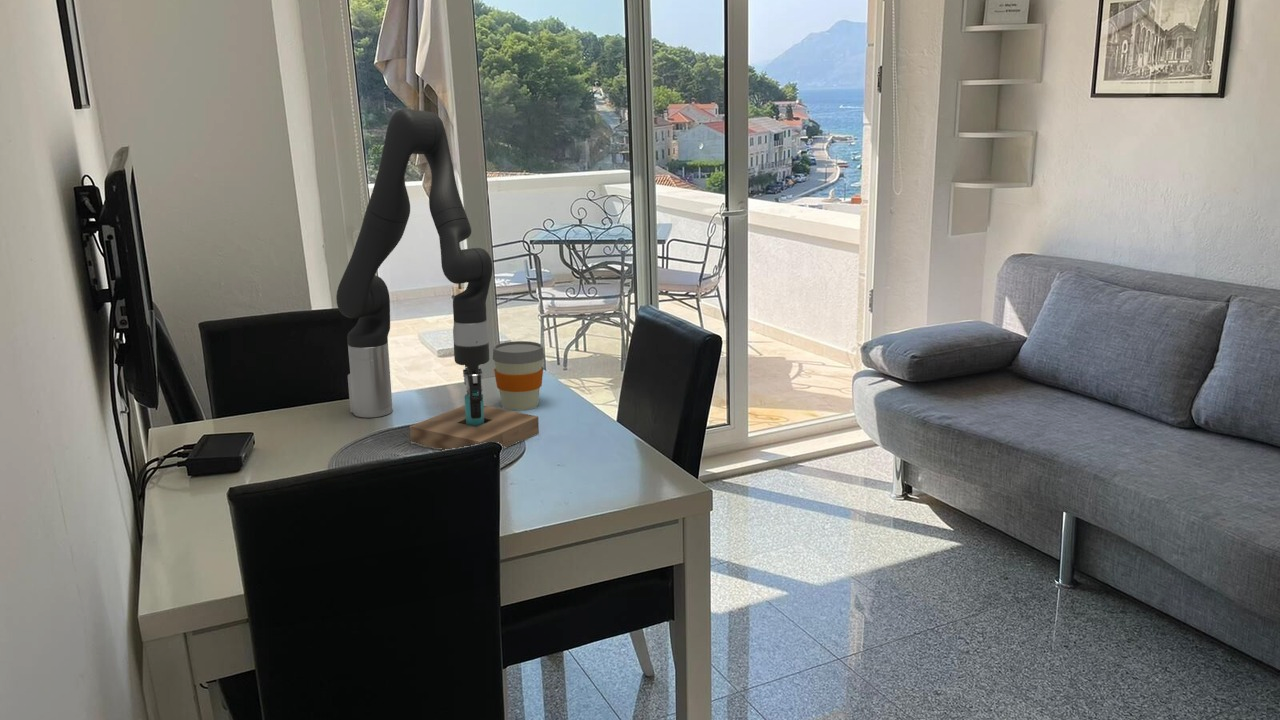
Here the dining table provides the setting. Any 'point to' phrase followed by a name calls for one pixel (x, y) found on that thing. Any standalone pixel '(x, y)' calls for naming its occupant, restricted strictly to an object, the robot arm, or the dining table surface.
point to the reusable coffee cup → (518, 373)
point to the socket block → (474, 429)
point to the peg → (469, 420)
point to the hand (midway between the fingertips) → (474, 412)
